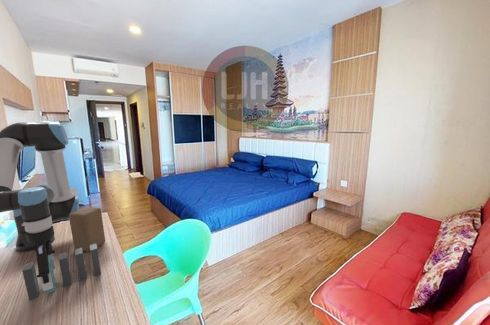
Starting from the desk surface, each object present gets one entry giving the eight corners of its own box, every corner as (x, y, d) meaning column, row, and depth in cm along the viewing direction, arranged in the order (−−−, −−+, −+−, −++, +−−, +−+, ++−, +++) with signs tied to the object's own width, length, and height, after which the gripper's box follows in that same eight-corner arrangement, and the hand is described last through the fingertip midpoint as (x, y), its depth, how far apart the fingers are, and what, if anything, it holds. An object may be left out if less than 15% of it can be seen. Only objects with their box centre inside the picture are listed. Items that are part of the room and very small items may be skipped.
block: (90, 252, 109) (84, 215, 105) (73, 250, 111) (67, 213, 107) (106, 241, 118) (101, 207, 114) (91, 240, 120) (85, 206, 116)
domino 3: (64, 280, 90) (59, 254, 88) (71, 277, 91) (67, 251, 89) (63, 287, 86) (58, 260, 84) (71, 284, 88) (66, 257, 85)
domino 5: (93, 269, 96) (89, 245, 94) (100, 267, 98) (96, 243, 95) (94, 276, 92) (90, 250, 90) (101, 273, 94) (97, 248, 91)
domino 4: (79, 274, 93) (74, 249, 91) (86, 272, 94) (82, 247, 92) (79, 281, 89) (74, 255, 87) (87, 278, 91) (82, 252, 88)
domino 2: (48, 285, 87) (42, 258, 85) (56, 282, 88) (51, 256, 86) (47, 293, 83) (41, 265, 81) (55, 290, 85) (50, 262, 82)
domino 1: (30, 291, 84) (24, 264, 82) (39, 288, 85) (33, 261, 83) (28, 300, 80) (22, 271, 78) (38, 296, 82) (31, 268, 79)
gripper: (30, 219, 88) (40, 266, 92) (18, 247, 69) (32, 304, 73) (54, 214, 93) (63, 259, 97) (50, 239, 74) (61, 293, 78)
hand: (49, 278), depth 85 cm, fingers open, 13 cm apart
